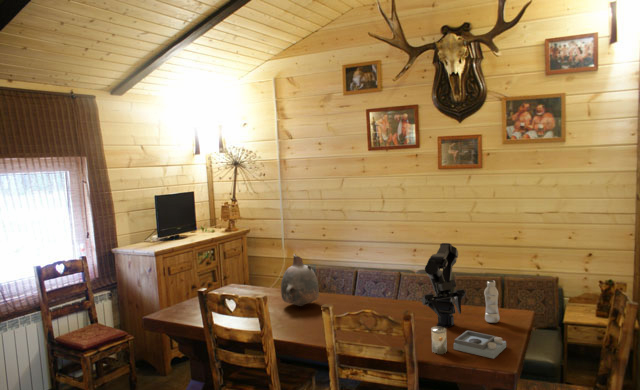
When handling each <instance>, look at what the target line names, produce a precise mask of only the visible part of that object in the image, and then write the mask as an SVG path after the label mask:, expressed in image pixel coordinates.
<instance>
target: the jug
mask: <svg viewBox="0 0 640 390" xmlns="http://www.w3.org/2000/svg"><path fill="white" fill-rule="evenodd" d="M292 260H293V262H292V265H291V266H288V268H287V269H286V270H285V272H284V273H283V276H282V278H281V282H280V283H281V284H280V294H281V299H282V301H283V302H284V303H287V304H291V305H295V306H298V307H299V306H300V307H303V306H305V305H306V304H310V303H312V302H314V301H316V300H318V299H319V294H320V292H319V291H320V290H319V289H320V288H319V287H320V286H319V282H318V278H317V275H316V273H315V270H314V269H312V266H311V264H308V265H306V264H304V262H303V258H302V257H301V256H298V255H296V253H293V259H292Z"/></svg>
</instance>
